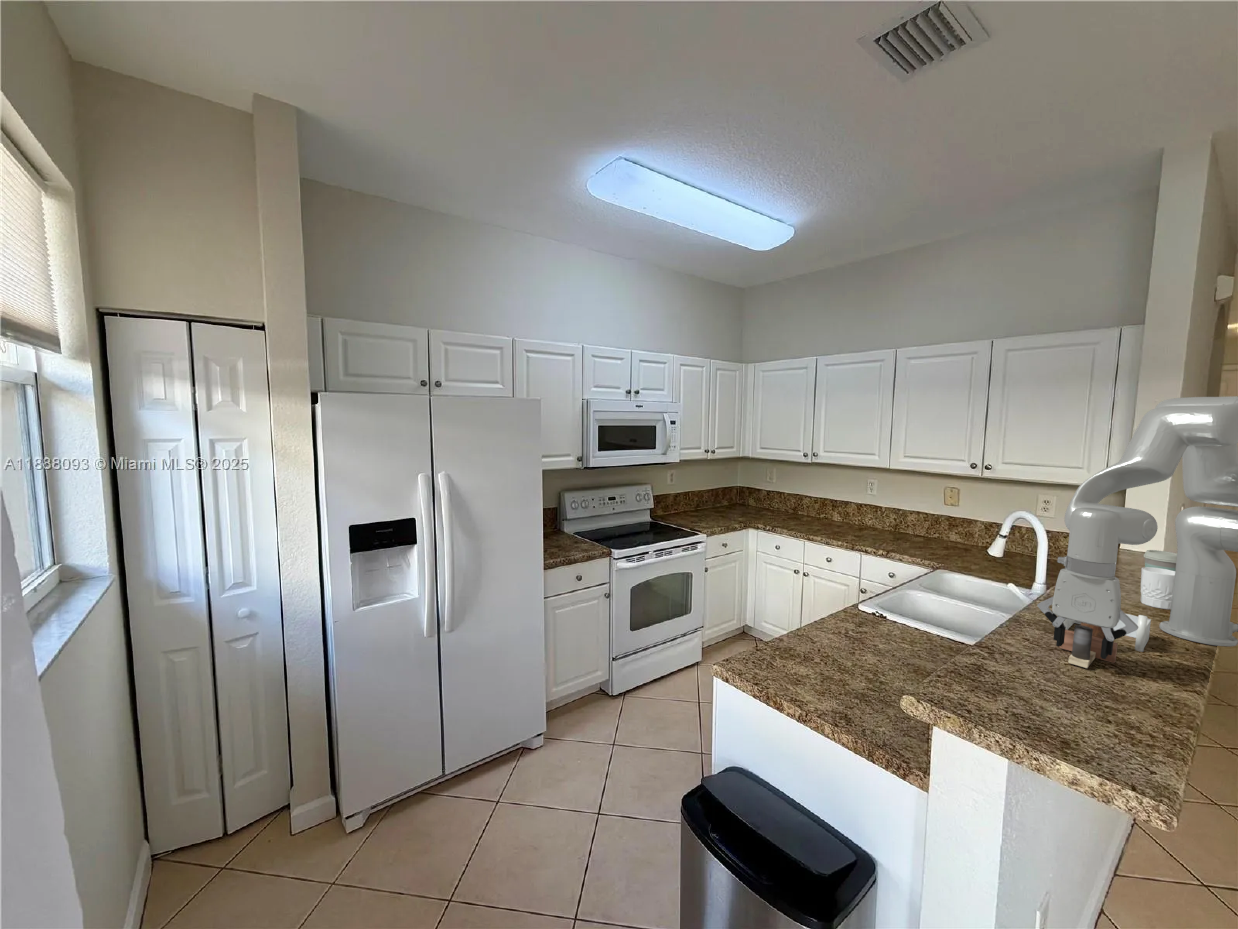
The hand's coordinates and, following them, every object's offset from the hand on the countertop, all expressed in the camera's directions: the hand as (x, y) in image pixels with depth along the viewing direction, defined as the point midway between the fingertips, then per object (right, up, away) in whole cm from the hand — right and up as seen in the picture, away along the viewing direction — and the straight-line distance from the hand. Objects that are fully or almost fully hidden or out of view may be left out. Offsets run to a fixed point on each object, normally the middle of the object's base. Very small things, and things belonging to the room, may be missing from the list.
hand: (1081, 650), depth 107 cm
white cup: (+56, -1, +38) cm, 68 cm away
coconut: (+11, -3, +9) cm, 14 cm away
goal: (+20, -2, +16) cm, 25 cm away
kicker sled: (+2, -3, +2) cm, 4 cm away
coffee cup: (+71, 0, +51) cm, 87 cm away
